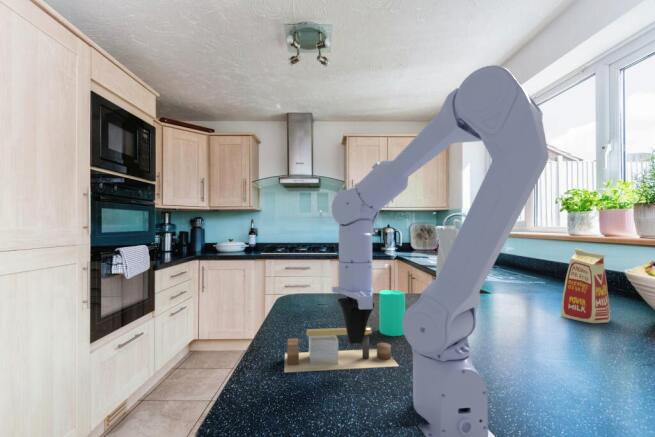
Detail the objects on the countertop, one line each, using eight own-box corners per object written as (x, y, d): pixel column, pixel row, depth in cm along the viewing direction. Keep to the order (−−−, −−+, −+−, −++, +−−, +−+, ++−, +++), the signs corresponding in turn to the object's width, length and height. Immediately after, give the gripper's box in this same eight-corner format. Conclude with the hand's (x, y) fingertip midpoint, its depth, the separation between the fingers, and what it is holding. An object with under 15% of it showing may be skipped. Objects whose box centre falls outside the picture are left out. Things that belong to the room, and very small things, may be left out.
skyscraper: (476, 332, 75) (473, 219, 76) (442, 332, 75) (441, 219, 76) (461, 322, 83) (459, 220, 84) (431, 322, 83) (430, 220, 84)
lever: (372, 334, 56) (372, 329, 56) (307, 337, 54) (307, 332, 54) (369, 330, 58) (369, 326, 58) (306, 333, 57) (306, 328, 57)
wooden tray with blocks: (399, 372, 53) (399, 341, 54) (284, 379, 51) (284, 346, 51) (385, 354, 61) (384, 326, 61) (284, 359, 59) (285, 330, 59)
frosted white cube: (338, 364, 54) (338, 340, 54) (310, 365, 53) (310, 341, 54) (334, 355, 58) (335, 332, 58) (308, 356, 57) (308, 333, 58)
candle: (406, 342, 68) (405, 288, 69) (379, 340, 69) (378, 287, 70) (404, 333, 74) (404, 283, 75) (379, 331, 75) (379, 282, 76)
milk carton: (560, 316, 89) (558, 248, 90) (578, 313, 93) (576, 247, 94) (598, 325, 81) (596, 250, 82) (616, 320, 85) (613, 249, 86)
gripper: (327, 258, 59) (326, 329, 58) (339, 266, 44) (339, 361, 44) (362, 257, 60) (362, 327, 59) (386, 266, 45) (386, 358, 45)
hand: (355, 342), depth 52 cm, fingers closed
